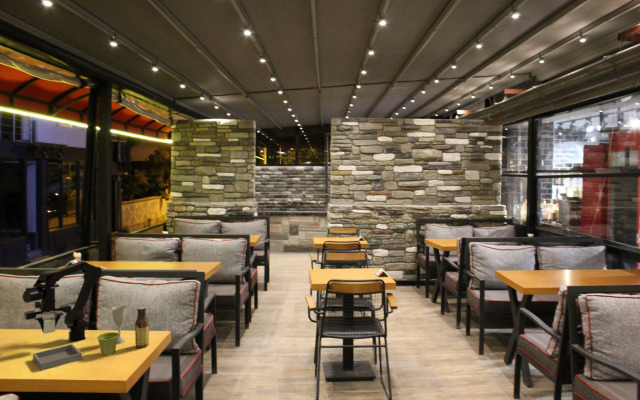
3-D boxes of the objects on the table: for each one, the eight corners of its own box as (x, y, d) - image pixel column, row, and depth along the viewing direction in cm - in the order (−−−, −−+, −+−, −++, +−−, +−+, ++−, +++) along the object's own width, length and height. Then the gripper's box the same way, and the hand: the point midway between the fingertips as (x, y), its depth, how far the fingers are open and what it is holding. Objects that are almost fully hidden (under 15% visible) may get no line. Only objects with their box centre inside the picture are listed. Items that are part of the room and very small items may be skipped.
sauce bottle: (138, 343, 203) (137, 305, 203) (150, 343, 204) (150, 305, 203) (133, 349, 197) (132, 309, 196) (146, 348, 197) (145, 309, 197)
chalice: (130, 340, 208) (129, 306, 207) (119, 345, 201) (119, 310, 201) (119, 339, 210) (118, 305, 210) (108, 343, 204) (108, 308, 203)
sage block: (52, 329, 198) (52, 317, 198) (55, 331, 195) (54, 319, 195) (41, 331, 195) (41, 319, 195) (44, 333, 192) (44, 321, 192)
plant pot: (123, 351, 194) (123, 333, 194) (105, 358, 185) (105, 340, 185) (110, 348, 198) (110, 331, 198) (92, 355, 189) (92, 337, 189)
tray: (72, 350, 195) (72, 344, 195) (82, 359, 184) (81, 353, 184) (32, 359, 184) (32, 353, 184) (40, 370, 173) (40, 364, 173)
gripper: (65, 291, 207) (65, 321, 207) (21, 298, 193) (21, 329, 194) (71, 295, 199) (71, 326, 199) (26, 302, 186) (26, 335, 186)
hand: (48, 329), depth 195 cm, fingers closed on sage block, 4 cm apart
